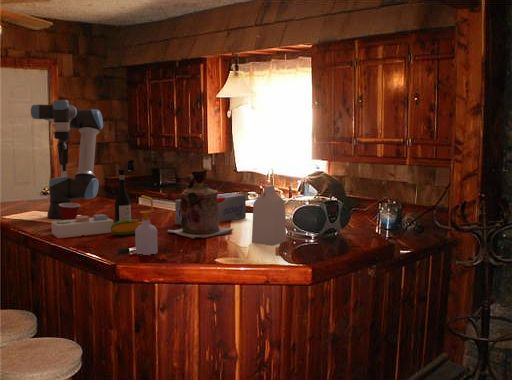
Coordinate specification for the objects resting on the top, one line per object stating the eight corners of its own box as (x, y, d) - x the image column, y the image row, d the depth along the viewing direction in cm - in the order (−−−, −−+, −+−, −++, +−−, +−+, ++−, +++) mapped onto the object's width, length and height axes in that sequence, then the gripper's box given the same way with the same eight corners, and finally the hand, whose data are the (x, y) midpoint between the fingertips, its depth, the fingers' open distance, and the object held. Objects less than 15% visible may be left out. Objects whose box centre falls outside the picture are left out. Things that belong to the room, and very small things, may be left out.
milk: (273, 245, 253) (273, 188, 249) (251, 242, 259) (251, 186, 255) (286, 241, 263) (286, 185, 259) (265, 238, 269) (265, 183, 265)
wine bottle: (134, 225, 299) (132, 169, 295) (121, 228, 293) (119, 170, 289) (125, 223, 304) (123, 168, 300) (112, 226, 298) (110, 169, 295)
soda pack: (232, 215, 332) (232, 192, 330) (246, 218, 322) (246, 194, 321) (174, 224, 305) (173, 198, 303) (188, 227, 295) (187, 201, 294)
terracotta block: (76, 226, 281) (75, 216, 280) (86, 225, 284) (86, 215, 283) (78, 228, 277) (78, 218, 276) (89, 227, 279) (89, 217, 279)
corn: (107, 219, 275) (146, 215, 286) (108, 234, 276) (146, 230, 287) (113, 222, 269) (152, 218, 280) (113, 238, 270) (152, 233, 281)
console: (51, 233, 279) (51, 220, 278) (105, 227, 293) (105, 215, 292) (58, 238, 268) (57, 225, 267) (113, 232, 282) (113, 219, 281)
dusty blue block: (94, 224, 286) (93, 215, 285) (104, 223, 288) (103, 214, 288) (97, 226, 281) (96, 216, 281) (107, 225, 284) (107, 215, 283)
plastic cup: (74, 228, 290) (73, 205, 289) (55, 228, 293) (54, 205, 291) (85, 225, 301) (84, 202, 299) (66, 224, 303) (65, 202, 302)
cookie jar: (203, 226, 298) (203, 165, 294) (235, 233, 281) (235, 168, 277) (165, 233, 281) (163, 168, 277) (196, 240, 264) (195, 172, 260)
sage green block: (57, 230, 276) (57, 220, 276) (68, 229, 279) (67, 219, 278) (60, 232, 272) (59, 222, 271) (71, 231, 275) (70, 221, 274)
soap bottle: (137, 251, 243) (135, 194, 239) (158, 250, 243) (157, 194, 240) (134, 256, 234) (132, 197, 231) (156, 255, 234) (155, 196, 231)
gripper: (51, 130, 290) (53, 176, 293) (57, 131, 279) (59, 178, 282) (66, 130, 294) (68, 175, 297) (72, 131, 283) (74, 178, 286)
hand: (64, 177), depth 289 cm, fingers closed
